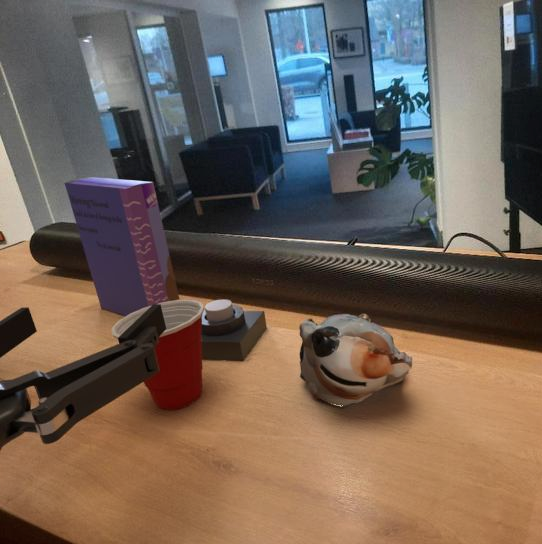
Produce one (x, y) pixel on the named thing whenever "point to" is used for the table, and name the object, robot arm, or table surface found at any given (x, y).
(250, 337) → the push button base
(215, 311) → the white push button
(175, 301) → the plastic cup
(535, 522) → the table surface
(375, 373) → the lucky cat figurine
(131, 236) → the cereal box
